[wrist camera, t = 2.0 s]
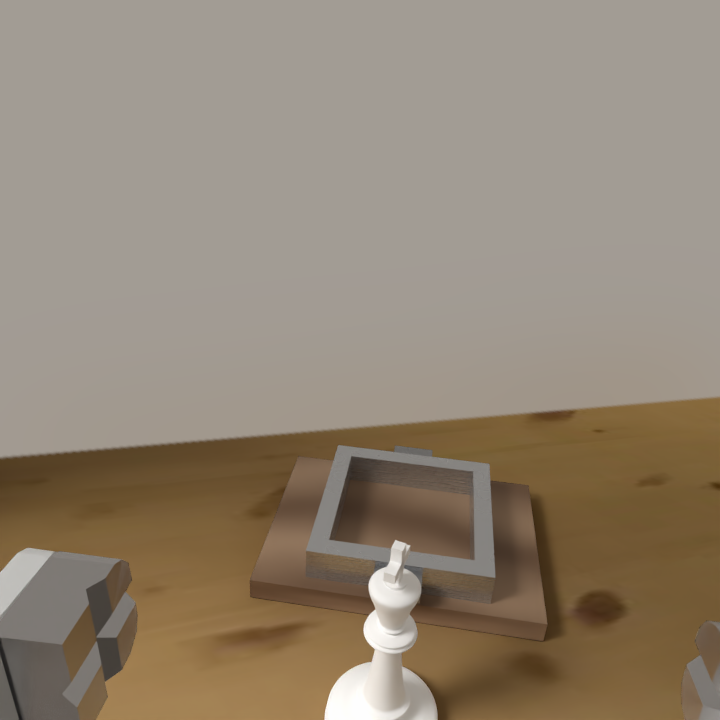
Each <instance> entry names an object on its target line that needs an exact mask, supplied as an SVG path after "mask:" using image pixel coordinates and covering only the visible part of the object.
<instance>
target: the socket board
mask: <svg viewBox="0 0 720 720" xmlns="http://www.w3.org/2000/svg"><path fill="white" fill-rule="evenodd" d="M332 464H333V460H325V459H317V458H309V457H301V456H298V459H297V461H296V464H295V466H294V469H293V471H292V474H291V476H290V479H289V481H288V484H287V487H286V489H285V492H284V494H283V497H282V499H281V502H280V504H279V507H278V510H277V512H276V515H275V517H274V520H273V522H272V525H271V527H270V530H269V532H268V535H267V538H266V540H265V543H264V545H263V548H262V550H261V553H260V555H259V558H258V560H257V563H256V566H255V568H254V571H253V573H252V576H251V578H250V597H255V598H261V599H268V600H275V601H281V602H288V603H294V604H301V605H307V606H314V607H321V608H327V609H334V610H340V611H347V612H354V613H360V614H367V615H370V614H371V613H372V612H373V611H374V610H375V606H374V604H373V602H372V600H371V597H370V594H369V588H368V586H364V585H357V584H350V583H344V582H337V581H330V580H323V579H317V578H310V577H306V549H307V545H308V542H309V539H310V536H311V532H312V529H313V526H314V523H315V519H316V516H317V513H318V510H319V506H320V503H321V500H322V497H323V493H324V490H325V487H326V484H327V480H328V477H329V474H330V471H331V467H332ZM490 486H491V505H492V523H493V541H494V560H495V583H494V588H493V593H492V598H491V603H490V604H486V603H480V602H473V601H466V600H459V599H452V598H446V597H439V596H432V595H425V594H421V596H420V604H416V605H415V607H414V608H413V609H412V610H411V612H410V615H411V617H412V618H413V619H414V621H415V622H419V623H426V624H433V625H439V626H446V627H452V628H459V629H466V630H472V631H479V632H485V633H492V634H498V635H505V636H512V637H518V638H525V639H531V640H538V641H543V640H544V636H545V633H546V629H547V625H548V624H547V616H546V609H545V602H544V595H543V587H542V580H541V573H540V566H539V558H538V551H537V544H536V536H535V529H534V522H533V515H532V507H531V500H530V493H529V486H528V485H521V484H514V483H506V482H498V481H490ZM395 540H397V541H400V542H403V543H406V544H407V545H410V551H412V552H419V553H426V554H433V555H441V556H448V557H455V558H462V559H469V560H470V498H469V495H466V494H458V493H450V492H443V491H435V490H427V489H419V488H412V487H404V486H396V485H389V484H381V483H373V482H366V481H358V480H350V482H349V486H348V490H347V494H346V498H345V502H344V505H343V509H342V513H341V517H340V521H339V525H338V529H337V533H336V537H335V541H341V542H348V543H355V544H362V545H369V546H377V547H384V548H391V547H392V545H393V544H394V542H395Z"/></svg>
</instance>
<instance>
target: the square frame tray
mask: <svg viewBox="0 0 720 720" xmlns="http://www.w3.org/2000/svg"><path fill="white" fill-rule="evenodd" d="M350 480H358V481H366V482H373V483H381V484H389V485H396V486H404V487H412V488H419V489H427V490H435V491H443V492H450V493H458V494H466V495H469V498H470V560H469V559H462V558H455V557H448V556H441V555H433V554H426V553H419V552H412V551H410V554H409V556H408V558H407V560H406V563H405V565H404V568H405V569H407V570H409V571H411V572H412V573H413V574H414V575H415V576H416V577H417V578H418V580H419V581H420V584H421V594H425V595H432V596H439V597H446V598H452V599H459V600H466V601H473V602H480V603H486V604H490V603H491V598H492V593H493V588H494V583H495V560H494V541H493V523H492V505H491V486H490V468H489V464H486V463H478V462H470V461H462V460H454V459H446V458H438V457H432V450H426V449H418V448H410V447H402V446H395V450H394V452H390V451H382V450H374V449H366V448H358V447H350V446H342V445H338V448H337V451H336V454H335V458H334V461H333V464H332V467H331V471H330V474H329V477H328V480H327V484H326V487H325V490H324V493H323V497H322V500H321V503H320V506H319V510H318V513H317V516H316V519H315V523H314V526H313V529H312V532H311V536H310V539H309V542H308V545H307V549H306V577H310V578H317V579H323V580H330V581H337V582H344V583H350V584H357V585H364V586H368V585H369V580H370V578H371V576H372V575H373V574H374V573H375V572H376V571H378V570H379V569H381V568H384V567H387V565H388V564H389V562H390V556H391V548H384V547H377V546H369V545H362V544H355V543H348V542H341V541H335V537H336V533H337V529H338V525H339V521H340V517H341V513H342V509H343V505H344V502H345V498H346V494H347V490H348V486H349V482H350ZM420 596H421V595H420ZM417 604H420V598H419V600H418V602H417Z"/></svg>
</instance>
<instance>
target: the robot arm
mask: <svg viewBox="0 0 720 720" xmlns="http://www.w3.org/2000/svg"><path fill="white" fill-rule="evenodd" d="M131 581H132V577H131V572H130V568H129V563H128V562H126V561H124V560H121V559H114V558H106V557H99V556H91V555H84V554H76V553H68V552H61V551H59V552H55V551H48V550H40V549H33V548H27V549H24V550H22V551H20V552H18V553H17V554H16V555H15V556H14V557H13V558H12V559H11V561H10V562H9V563H8V564H7V565H6V566H5V568H4V569H3V570H2V571H1V572H0V720H96V718H97V717H98V715H99V713H100V711H101V709H102V707H103V705H104V703H105V701H106V700H107V698H108V696H107V690H106V685H105V681H107V680H108V679H109V678H111V677H112V676H114V675H115V674H117V673H118V672H119V671H121V670H122V669H123V667H124V665H125V663H126V661H127V659H128V657H129V655H130V653H131V650H132V646H133V643H134V639H135V635H136V632H137V616H138V615H137V608H136V603H135V602H134V601H133V599H132V598H131V597H130V596H129V595H128V594H127V593H126V592H125V591H126V590H127V588H128V586H129V584H130V583H131ZM695 643H696V645H697V648H698V650H699V652H700V656H698V657H697V658H695V659H694V660H692V661H691V662H689V663H688V664H687V665H686V668H685V672H684V675H683V679H682V708H683V713H684V718H685V720H720V622H715V621H705V622H704V623H703V624H702V625H701V626H700V627H699V630H698V633H697V636H696V639H695Z"/></svg>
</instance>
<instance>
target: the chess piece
mask: <svg viewBox="0 0 720 720" xmlns="http://www.w3.org/2000/svg"><path fill="white" fill-rule="evenodd" d="M409 554H410V545H407V544H406V543H403V542H400V541H397V540H395V542H394V544H393V545H392V547H391V556H390V562H389V564H388V565H387V567H384V568H381V569H379V570H378V571H376V572H375V573H374V574H373V575H372V576H371V578H370V580H369V585H368V588H369V594H370V597H371V600H372V602H373V604H374V606H375V610H374V611H373V612H372V613H371V614H370V615H369V616H368V618H367V620H366V621H365V624H364V636H365V638H366V640H367V642H368V643H369V644H370V645H371V646H372V647H373V648H374V649H375V652H374V655H373V659H372V662H368V663H364V664H360V665H358V666H356V667H353V668H352V669H350V670H348V671H347V672H346V673H344V674H343V675H342V676H341V677H340V678H339V679H338V681H337V682H336V683H335V685H334V686H333V688H332V690H331V692H330V695H329V698H328V702H327V706H326V710H325V720H438V714H437V707H436V703H435V700H434V697H433V695H432V693H431V691H430V689H429V688H428V686H427V685H426V684H425V683H424V681H423V680H422V679H421V678H420V677H419V676H417V675H416V674H415V673H413V672H412V671H410V670H409V669H407V668H405V667H403V666H402V653H403V652H405V651H407V650H409V649H410V648H411V647H412V646H413V645H414V643H415V642H416V639H417V627H416V624H415V621H414V619H413V618H412V617H411V615H410V612H411V610H412V609H413V608H414V607H415V605H416V604H417V602H418V600H419V598H420V595H421V584H420V581H419V580H418V578H417V577H416V576H415V575H414V574H413V573H412V572H411V571H409V570H407V569H405V568H404V565H405V563H406V560H407V558H408V556H409Z"/></svg>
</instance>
